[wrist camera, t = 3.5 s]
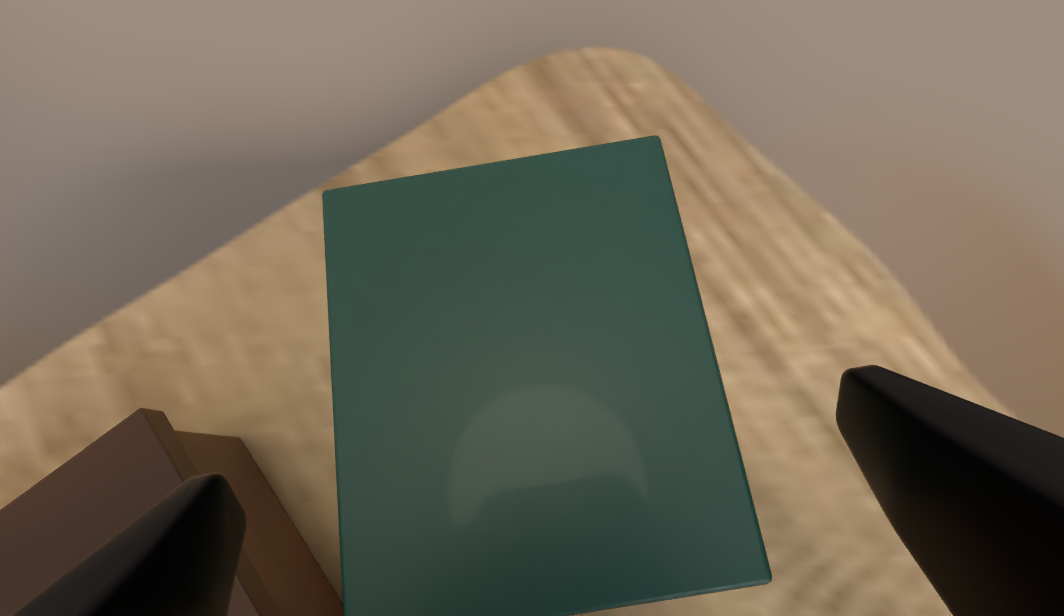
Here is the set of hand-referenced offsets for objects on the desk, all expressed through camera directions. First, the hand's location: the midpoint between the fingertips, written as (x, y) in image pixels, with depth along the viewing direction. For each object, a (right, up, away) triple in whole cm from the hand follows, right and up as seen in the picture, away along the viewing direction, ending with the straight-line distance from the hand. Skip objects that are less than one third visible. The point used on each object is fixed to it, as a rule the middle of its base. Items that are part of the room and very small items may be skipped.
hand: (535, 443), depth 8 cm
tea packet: (0, -2, +9) cm, 9 cm away
